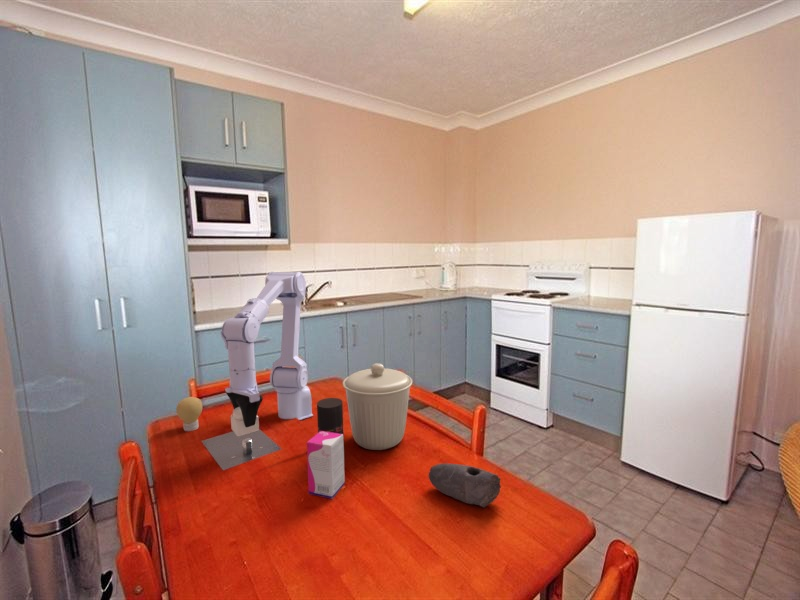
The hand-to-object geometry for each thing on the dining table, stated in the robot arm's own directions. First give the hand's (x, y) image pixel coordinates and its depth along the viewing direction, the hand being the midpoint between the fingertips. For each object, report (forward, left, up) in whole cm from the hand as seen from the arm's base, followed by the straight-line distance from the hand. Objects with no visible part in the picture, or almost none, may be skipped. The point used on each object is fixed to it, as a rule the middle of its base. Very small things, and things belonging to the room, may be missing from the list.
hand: (245, 421), depth 94 cm
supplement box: (-8, +24, -9) cm, 27 cm away
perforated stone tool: (-27, +45, -10) cm, 53 cm away
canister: (-29, +15, -9) cm, 34 cm away
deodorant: (-14, +16, -9) cm, 23 cm away
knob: (0, 0, -2) cm, 2 cm away
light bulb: (+7, -24, -9) cm, 27 cm away
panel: (0, -5, -9) cm, 10 cm away
